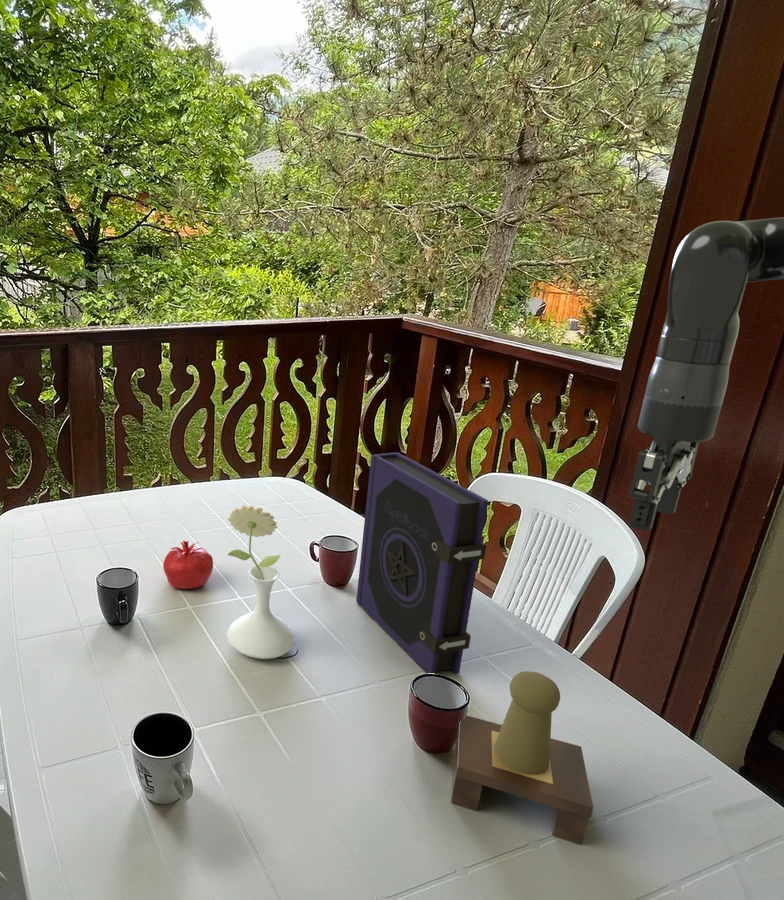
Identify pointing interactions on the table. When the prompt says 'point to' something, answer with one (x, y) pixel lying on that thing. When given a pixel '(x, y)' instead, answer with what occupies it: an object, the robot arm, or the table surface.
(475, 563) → the book
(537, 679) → the cork
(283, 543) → the table surface
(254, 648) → the flower in vase
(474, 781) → the shelf
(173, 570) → the pomegranate
